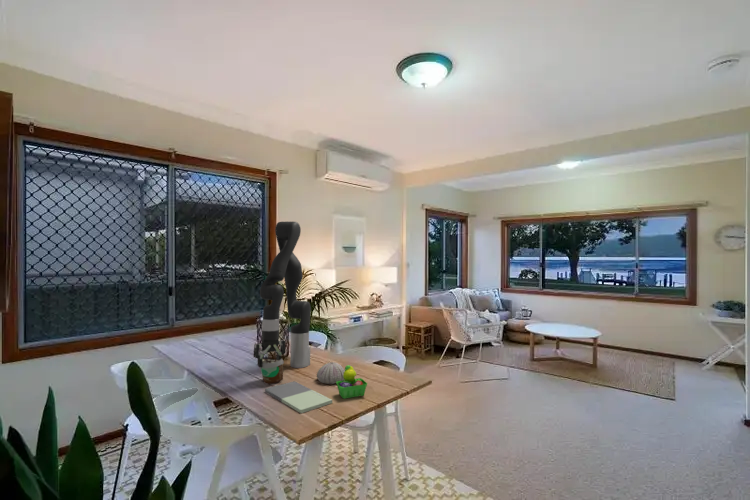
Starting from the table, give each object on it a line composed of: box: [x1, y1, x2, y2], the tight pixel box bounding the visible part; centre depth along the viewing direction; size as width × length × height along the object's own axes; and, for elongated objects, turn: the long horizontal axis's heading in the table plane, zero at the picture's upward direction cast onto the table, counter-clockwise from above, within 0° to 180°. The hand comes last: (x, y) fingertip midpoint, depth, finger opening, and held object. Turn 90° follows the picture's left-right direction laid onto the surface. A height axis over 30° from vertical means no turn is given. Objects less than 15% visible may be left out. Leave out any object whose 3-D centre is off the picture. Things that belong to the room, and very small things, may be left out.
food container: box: [260, 357, 284, 385], centre depth 162 cm, size 12×6×10 cm, turn 68°
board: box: [264, 380, 333, 414], centre depth 146 cm, size 14×28×1 cm, turn 43°
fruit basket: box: [335, 364, 368, 399], centre depth 150 cm, size 11×9×11 cm
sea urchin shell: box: [316, 361, 345, 384], centre depth 166 cm, size 13×14×8 cm
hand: (269, 365), depth 162 cm, fingers open, 8 cm apart
